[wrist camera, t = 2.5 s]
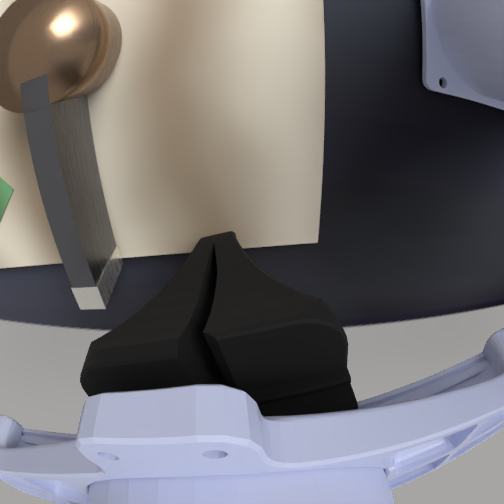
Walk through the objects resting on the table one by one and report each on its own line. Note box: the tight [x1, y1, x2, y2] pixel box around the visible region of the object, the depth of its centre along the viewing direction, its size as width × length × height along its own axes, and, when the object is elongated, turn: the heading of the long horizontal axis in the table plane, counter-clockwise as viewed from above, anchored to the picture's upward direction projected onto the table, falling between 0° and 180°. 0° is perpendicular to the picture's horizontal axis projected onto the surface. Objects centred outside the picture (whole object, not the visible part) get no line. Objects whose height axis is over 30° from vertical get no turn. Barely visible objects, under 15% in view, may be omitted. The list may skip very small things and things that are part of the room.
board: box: [0, 0, 325, 268], centre depth 9 cm, size 22×16×1 cm
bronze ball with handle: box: [0, 0, 123, 309], centre depth 8 cm, size 11×4×3 cm, turn 2°
